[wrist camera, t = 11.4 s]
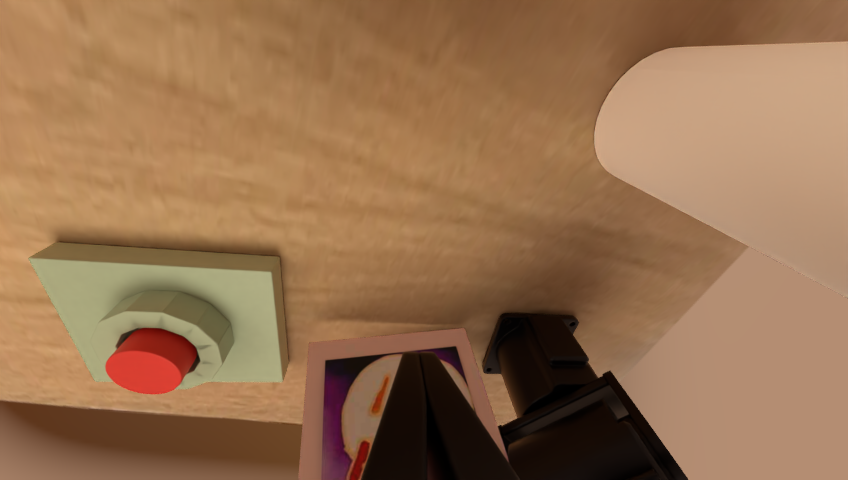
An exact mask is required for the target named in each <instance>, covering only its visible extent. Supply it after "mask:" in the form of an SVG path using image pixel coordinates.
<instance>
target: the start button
mask: <svg viewBox="0 0 848 480" xmlns="http://www.w3.org/2000/svg"><path fill="white" fill-rule="evenodd" d="M196 357H197V349H196V347H195V346H194V345H193V344H192V343H191V342H190V341H189V340H187V339H186V338H185V337H184V336H181V335H179V334H176V333H173V332H170V331H167V330H165V329H162V328H141V329H139V330H136V331H134V332H133V333H132V334H131V335H130V336H129V337H128V338H127V339H126V340H125V341H124V342H123V343H122V344H121V345H120V346H119V348H118V349H117V350H116V351H115V352H114V353H113V354H112V355H111V356H110V357H109V358H108V360H107V362H106V365H105V369H106V372H107V374H108V376H109V377H110V378H111V379H112V380H113V381H114V382H115V383H116V384H118V385H120V386H121V387H123V388H126V389H128V390H131V391H134V392H138V393H144V394H162V393H166V392H169V391H172V390H174V389H175V388H177V387H178V386H179V385H180V383H181V382H182V380H183V379H184V377H185V375H186V374H187V372H188V371H189V369H190V368H191V366H192V364H193V363H194V361H195V359H196Z"/></svg>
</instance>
